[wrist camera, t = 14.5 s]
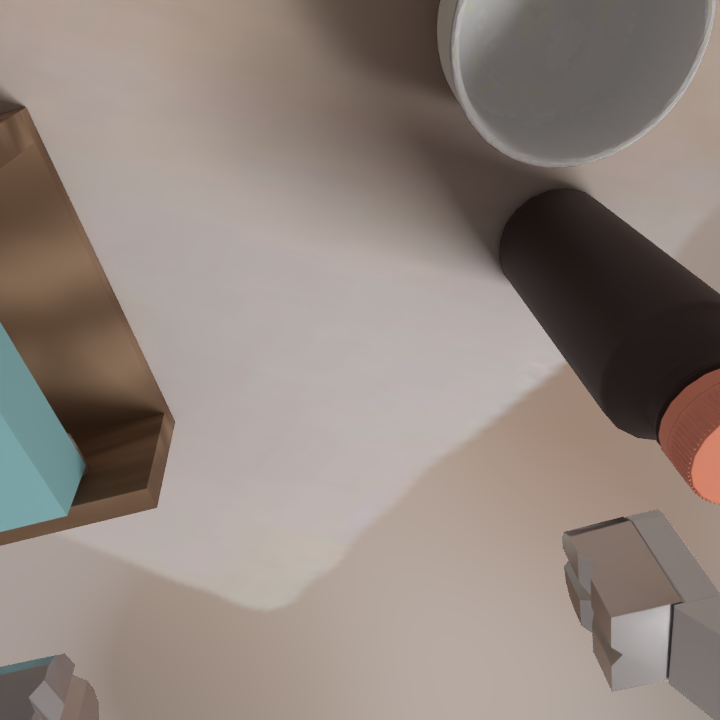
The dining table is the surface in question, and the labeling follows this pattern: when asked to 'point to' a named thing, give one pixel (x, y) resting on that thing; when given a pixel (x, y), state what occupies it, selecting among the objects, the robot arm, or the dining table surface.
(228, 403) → the dining table surface
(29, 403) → the shelf board
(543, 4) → the teacup
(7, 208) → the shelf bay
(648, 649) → the robot arm
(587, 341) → the bottle
